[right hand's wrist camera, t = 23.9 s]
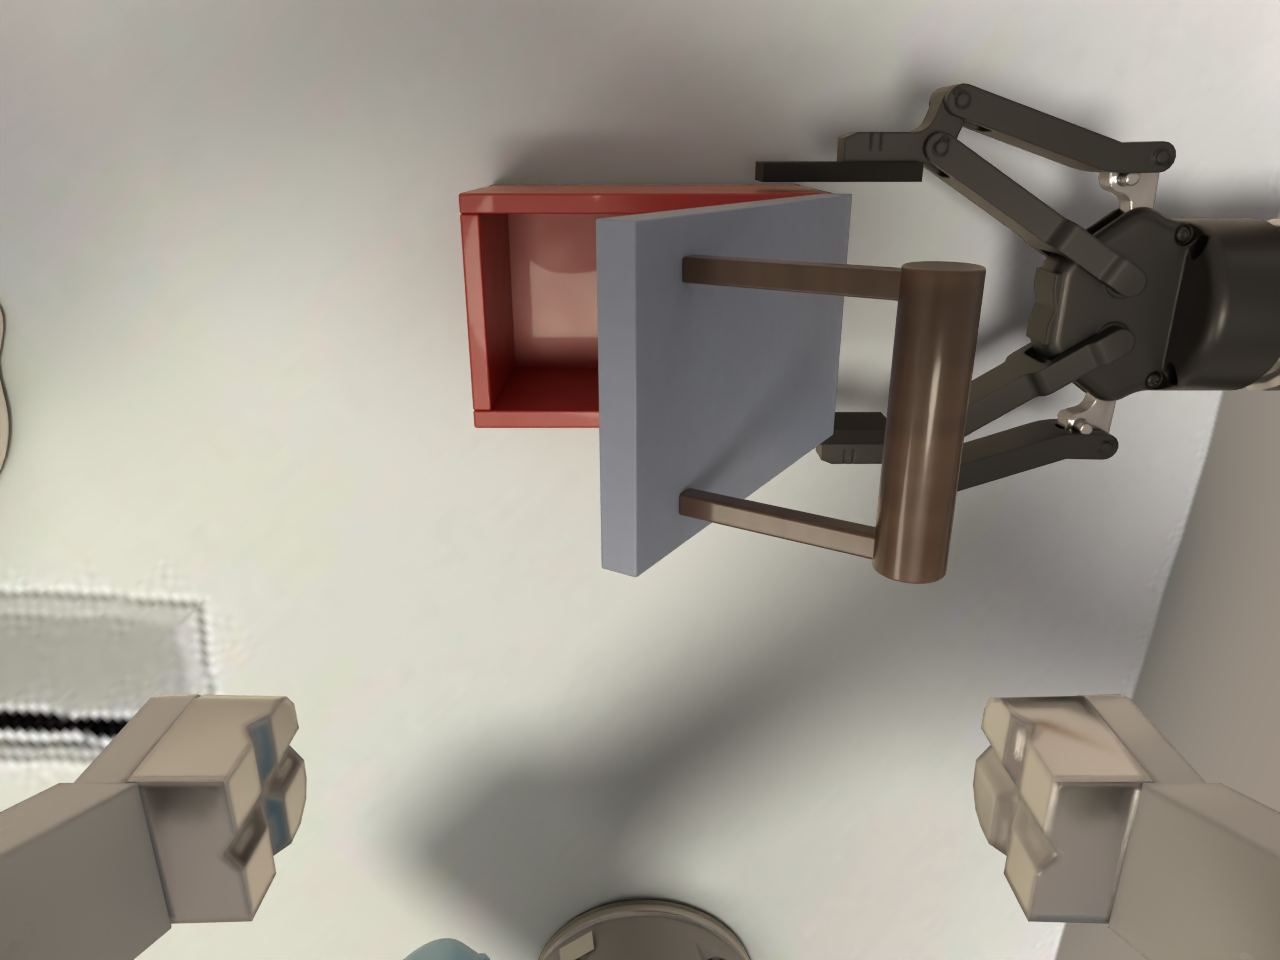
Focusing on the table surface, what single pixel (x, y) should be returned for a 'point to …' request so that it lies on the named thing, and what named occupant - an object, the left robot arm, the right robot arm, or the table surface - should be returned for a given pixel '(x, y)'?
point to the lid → (769, 380)
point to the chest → (552, 290)
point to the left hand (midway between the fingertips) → (753, 306)
